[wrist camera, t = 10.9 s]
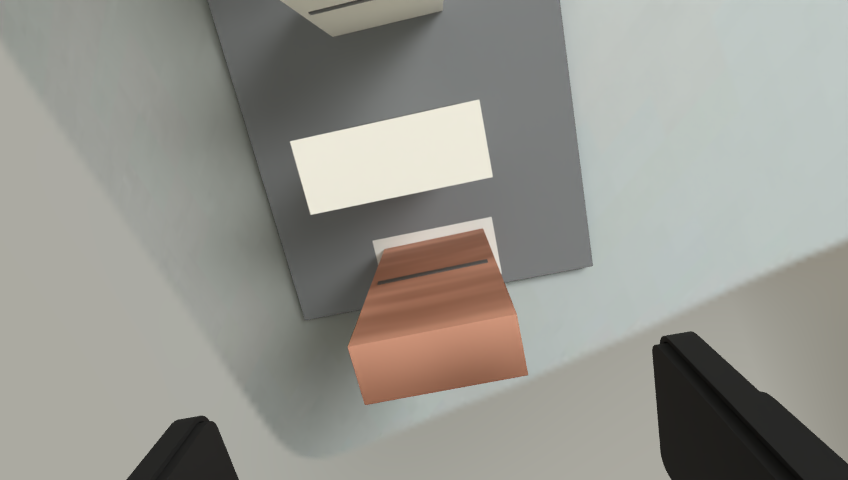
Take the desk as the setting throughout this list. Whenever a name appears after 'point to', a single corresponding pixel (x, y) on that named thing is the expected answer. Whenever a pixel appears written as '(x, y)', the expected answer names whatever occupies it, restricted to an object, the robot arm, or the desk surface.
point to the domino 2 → (393, 157)
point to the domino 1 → (360, 12)
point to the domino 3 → (436, 321)
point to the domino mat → (403, 94)
